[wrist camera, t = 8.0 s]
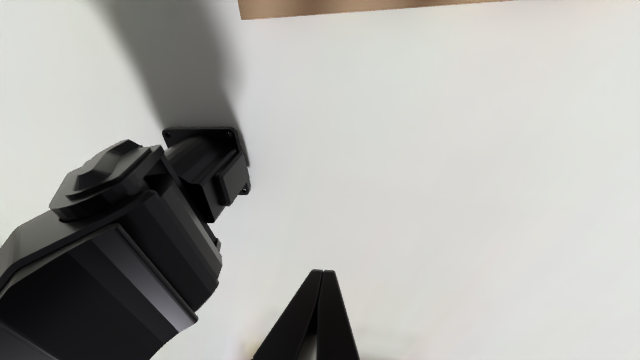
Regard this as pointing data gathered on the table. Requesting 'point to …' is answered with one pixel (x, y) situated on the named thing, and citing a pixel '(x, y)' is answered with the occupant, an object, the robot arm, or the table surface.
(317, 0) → the rod stand
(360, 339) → the table surface
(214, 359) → the table surface
